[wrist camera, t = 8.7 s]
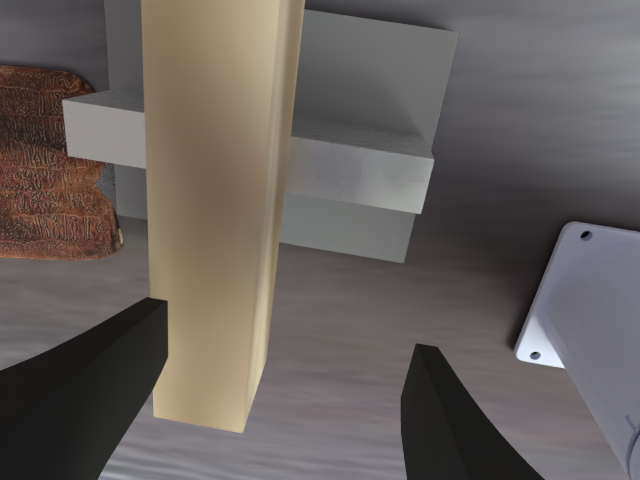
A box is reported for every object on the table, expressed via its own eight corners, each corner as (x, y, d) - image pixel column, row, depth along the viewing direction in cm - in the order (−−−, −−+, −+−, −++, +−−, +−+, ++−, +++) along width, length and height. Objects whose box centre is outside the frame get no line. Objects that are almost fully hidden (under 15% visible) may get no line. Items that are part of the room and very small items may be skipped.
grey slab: (453, 32, 18) (460, 32, 17) (401, 249, 23) (403, 263, 21) (121, -17, 19) (102, -21, 18) (132, 204, 23) (117, 214, 22)
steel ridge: (422, 135, 19) (434, 159, 15) (412, 181, 20) (421, 214, 16) (120, 87, 19) (61, 99, 16) (123, 134, 20) (67, 156, 16)
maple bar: (314, -89, 13) (291, -138, 9) (266, 358, 19) (242, 433, 16) (203, -104, 13) (136, -159, 9) (194, 345, 20) (153, 416, 16)
